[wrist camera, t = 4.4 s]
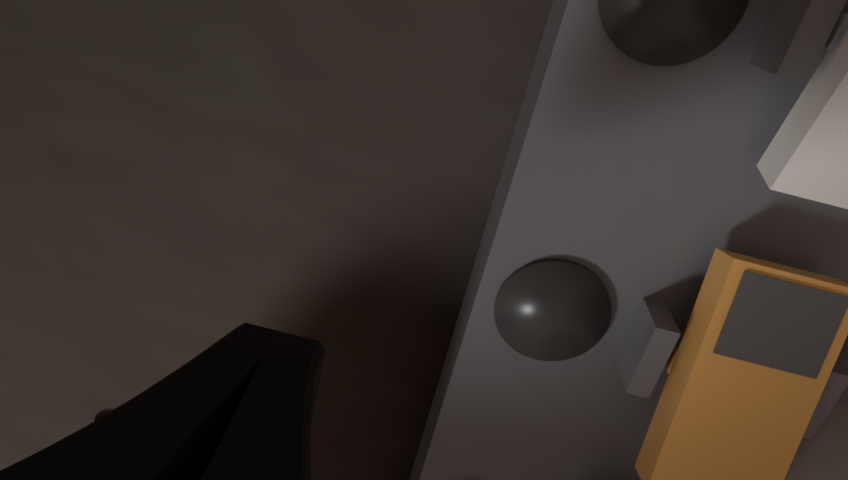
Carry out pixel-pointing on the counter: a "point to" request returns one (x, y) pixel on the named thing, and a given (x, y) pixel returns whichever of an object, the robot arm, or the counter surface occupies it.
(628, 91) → the power strip
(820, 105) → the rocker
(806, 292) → the rocker middle
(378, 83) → the counter surface
